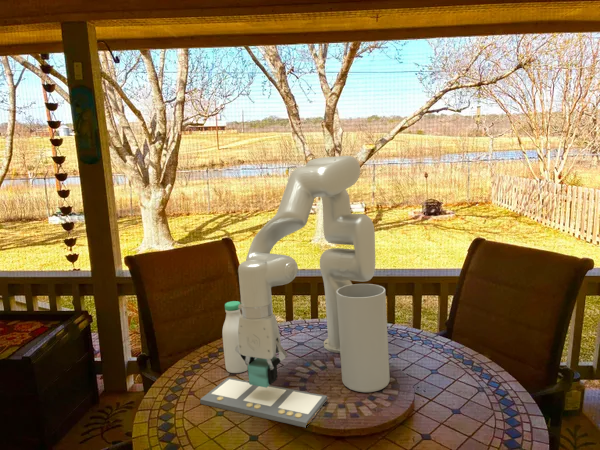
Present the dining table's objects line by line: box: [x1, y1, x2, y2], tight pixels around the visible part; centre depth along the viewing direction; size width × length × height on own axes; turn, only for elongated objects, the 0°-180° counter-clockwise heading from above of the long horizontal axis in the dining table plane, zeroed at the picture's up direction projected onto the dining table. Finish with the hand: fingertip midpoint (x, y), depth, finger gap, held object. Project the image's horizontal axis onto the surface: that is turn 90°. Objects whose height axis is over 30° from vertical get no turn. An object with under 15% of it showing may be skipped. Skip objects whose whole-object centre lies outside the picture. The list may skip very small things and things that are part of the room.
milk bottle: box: [221, 300, 248, 374], centre depth 128 cm, size 8×8×20 cm
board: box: [199, 377, 328, 429], centre depth 109 cm, size 12×30×2 cm, turn 63°
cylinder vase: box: [336, 283, 391, 393], centre depth 114 cm, size 12×12×25 cm
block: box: [247, 358, 273, 388], centre depth 109 cm, size 5×5×5 cm
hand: (263, 379), depth 109 cm, fingers closed on block, 5 cm apart
